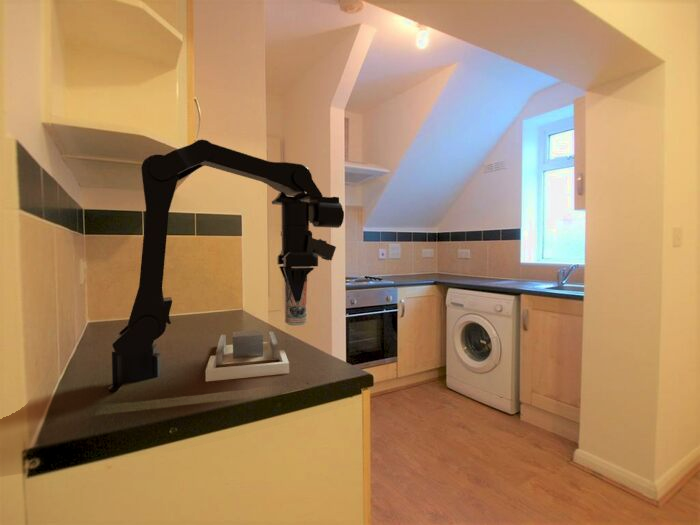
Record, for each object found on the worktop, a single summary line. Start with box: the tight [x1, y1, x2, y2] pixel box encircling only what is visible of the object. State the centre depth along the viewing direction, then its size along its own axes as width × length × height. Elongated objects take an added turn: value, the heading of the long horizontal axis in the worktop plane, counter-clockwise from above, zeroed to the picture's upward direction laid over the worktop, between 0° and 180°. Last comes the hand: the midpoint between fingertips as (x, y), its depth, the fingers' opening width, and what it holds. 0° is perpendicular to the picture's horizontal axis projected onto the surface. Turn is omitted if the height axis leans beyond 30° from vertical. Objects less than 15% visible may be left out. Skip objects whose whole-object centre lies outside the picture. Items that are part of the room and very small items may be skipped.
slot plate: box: [215, 331, 280, 366], centre depth 78 cm, size 12×15×4 cm
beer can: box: [284, 275, 308, 326], centre depth 76 cm, size 5×5×12 cm
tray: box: [205, 349, 290, 382], centre depth 66 cm, size 14×9×3 cm, turn 106°
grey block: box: [232, 329, 264, 359], centre depth 76 cm, size 6×5×4 cm
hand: (295, 299), depth 76 cm, fingers closed on beer can, 5 cm apart
